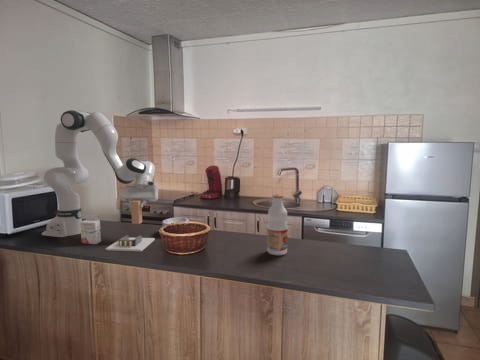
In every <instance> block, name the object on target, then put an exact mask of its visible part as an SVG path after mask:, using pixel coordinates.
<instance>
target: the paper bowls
mask: <svg viewBox="0 0 480 360" xmlns="http://www.w3.org/2000/svg"><path fill="white" fill-rule="evenodd" d="M177 222H189V223H190V220H189V218H186V217H170V218H166V219H163V220H162V226H165V225H168V224H171V223H177ZM162 226H161V227H162Z"/></svg>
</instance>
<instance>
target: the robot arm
mask: <svg viewBox="0 0 480 360" xmlns="http://www.w3.org/2000/svg"><path fill="white" fill-rule="evenodd" d="M87 131H91V132H92V134H93V135H94V136H95V138H96V139H97V140H98V143H99V145H100V146H101V150H102V152H103V154H104V156H105V158H106V160H107V161H108V163H109V164H110V166H111V168H112V170H113V172H114V175H115V177H116V180H117V181H118V183H121V184H124V185H127V186H125V187H124V188H122V191H121V194H120V196H119V198H120V200H121V201H122V202H129V208H130V209H131V201H134V200H141V203H140V205H139V207H140V208H142V209H143V208H144V206H145V205H146V204H147V202H156V201H158V199H159V191H160V190H159V187H158V185H157V183H156V182H154V181H153V180H154V177H155V172H156V167H155V164H154V163H153V162H151V161H150V160H143V161H142V160H139V159H137V158H133V157H131V158H128V159H126V161H125V162H124V163H123V162H122V160H121V159H120V157H119V155H118V153H117V145H118V140H119V133H118V131H117V129H116V128H115V127H114V125H113V124H112V123H111V121H110V120H109V119H108V117H106V116H105V115H104V114H103V113H102V112H100V111H93V112H88V111H83V110H72V109H71V110H66V111H64V112H63V113H62V114H61V116H60V123H57V125H56V127H55V133H54V149H55V150H54V152H55V156H56V158H57V159H59V160H60V161H62V163H63V165H64V166H59V167H53V168H50V169H47V170H46V171H45V172H44V174H43V179H44V180H43V181H44V182H45V184H46V185H47V186H48V187H50V188H51V189H52V190H53V191H54V193H55V194H56V197H57V204H58V205H57V206H58V210H56V211H54V213H55V214H56V216H55V217H54V218H52V219H51V220H50V221H49V222H48V223H47V224H46V229H45V230H44V231H42V232H41V236H46V237H57V238H65V237H69V236H75V235H81V223H80V222H82V221H83V220H82V218H83V216H82V215H83V213H82V211H83V210H82V208H81V198H80V194H79V193H77V192H76V191H74V190H73V189H72V186H74V185H79V184H82V183H85V182H87V181H88V180H89V177H90V174H89V170H88V169H87V167H85V166H84V165H83V164H82V162H81V161H80V158H79V152H78V134H79V133H84V132H87ZM134 179H135V182H134V184H133V185H129V184H131V183H132V182H133V181H134Z"/></svg>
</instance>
